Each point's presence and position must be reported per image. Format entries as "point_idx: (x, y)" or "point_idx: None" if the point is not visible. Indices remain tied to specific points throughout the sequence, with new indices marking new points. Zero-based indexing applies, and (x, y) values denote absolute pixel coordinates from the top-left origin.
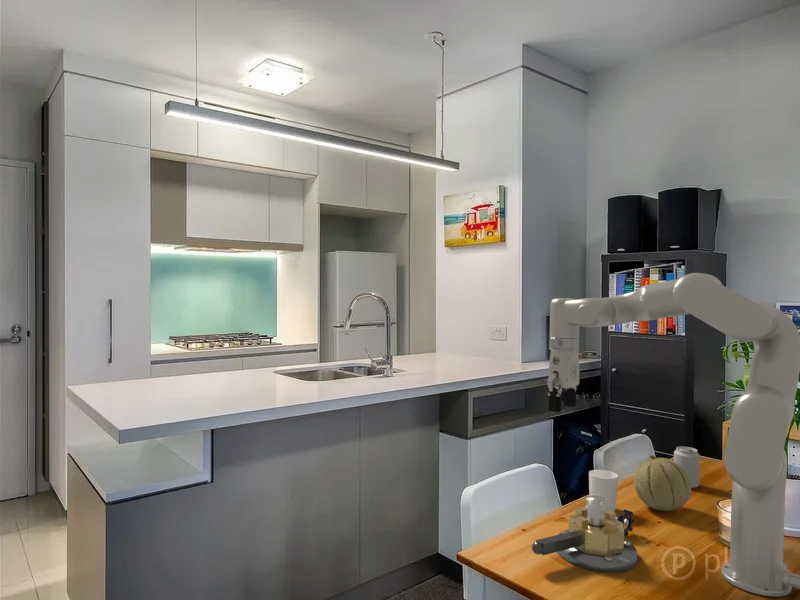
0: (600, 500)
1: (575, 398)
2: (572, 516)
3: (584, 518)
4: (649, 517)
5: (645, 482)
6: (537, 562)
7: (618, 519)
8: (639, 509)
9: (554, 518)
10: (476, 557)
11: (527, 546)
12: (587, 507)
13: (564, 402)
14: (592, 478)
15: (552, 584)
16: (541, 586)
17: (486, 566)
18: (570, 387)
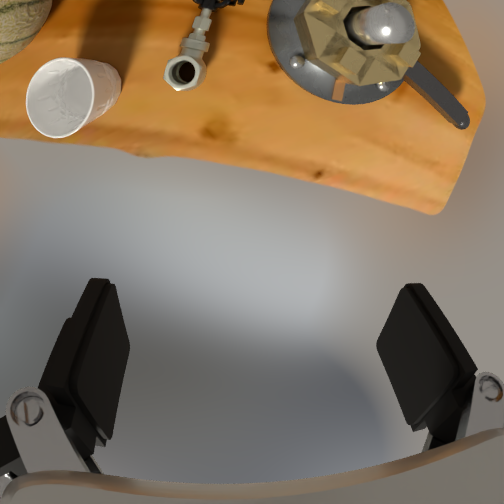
0: (405, 13)
1: (78, 329)
2: (360, 79)
3: (405, 49)
4: (81, 2)
5: (29, 12)
6: (423, 116)
7: (228, 2)
8: (51, 36)
9: (222, 145)
10: (441, 198)
11: (381, 145)
12: (199, 80)
13: (126, 359)
14: (92, 112)
15: (465, 86)
16: (474, 99)
17: (457, 177)
18: (436, 460)
